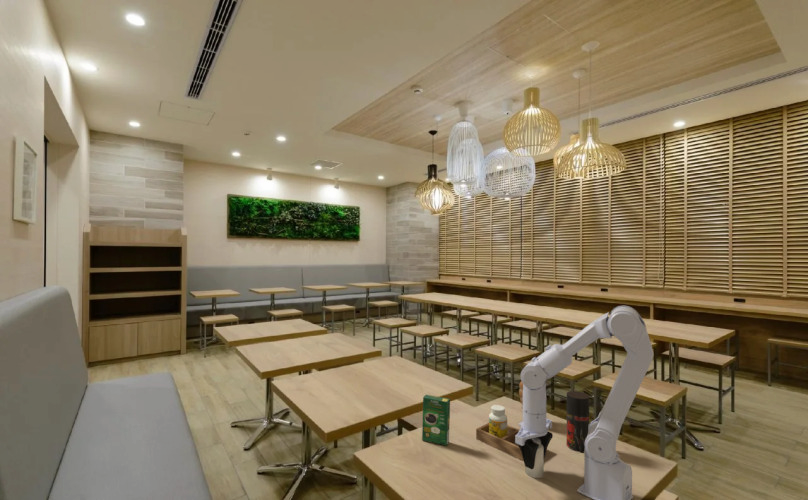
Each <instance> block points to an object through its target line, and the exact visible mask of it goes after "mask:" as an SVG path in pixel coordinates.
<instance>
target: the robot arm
mask: <svg viewBox="0 0 808 500" xmlns="http://www.w3.org/2000/svg"><path fill="white" fill-rule="evenodd" d="M613 336H614V337H615V338H616V339H618V340H619V342H621V344H622V346H623V348H624V350H625V351H626V356H625V358H624V359H623V363H622V365H621V367H620V369H619V371H618V374H617V375H616V378H615V380H614V382H613V384H612V387H611V390H610V391H609V393H608V396H607V398H606V400H605V402H604V404H603V407H602V409H601V410H600V412H599V414H598V416H597V417H596V418H595V419H594V420H592V421H591V422H589V428H588V435H587V438H586V440H585V449H584V452H583V453H584V454H583V455H584V456H583V457H584V458H583V459H584V464H583V465H584V466H583V467H584V468H583V470H584V477H583V478H584V483H582V484H581V485H580V486H579V487H578V488H577V490H576V491H577V492H578V493H579V494H582V495H583V496H585V497H588V498H590V499H592V500H631V499H632V500H633V498H634V495H633V469H632V466H631V465H630V464H629V463H626V462H624V461H623V460H621V458H620V455H619V453H618V451H617V441H618V439H619V435H620V432H621V429H622V426H623V423H624V422H625V419H626V417H627V415H628V413H629V410H630V408H631V407H632V405H633V402H634V400H635V398H636V395H637V393H638V391H639V389H640V386H641V385H642V383H643V380H644V379H645V376H646V374H647V372H648V370H649V368H650V366H651V363H652V361H653V359H654V349H653V346H652V342H651V340H650V336H649V333H648V330H647V326H646V323H645V321H644V319H643V318H642V316H641V315H640V313H639V312H638V311H637V310H636V309H635V308H633V307H631V306H628V305H618V306H616V307H614V308H613V309H612V310H611V312H610V311H608V312H606V313H604V314H603V315H601V316H599V317H598V318H596V319H595V320H593V321H592V322H590V323H589V324H588V325H586V326H585V327H584V328H582V329H581V330H580V331H579V332H577V334H575V335H574V336H572V337H571V338H570V339H569V340H568V341H566V342H565V343H563V344H558V343H554V344H553V345H551V344H549V345H547V346H546V347H545V351H544V352H542V353H541V354H540V355H538V356H537V357H536V356H534V357H533V358H531V361H530V362H528V363H526V365H525V366H524V368H523V369H522V370H521V371H520V380H521V381H522V383H523V410H522V421H520V422H519V423H518V426H519V427H520V429H519V432H518V434H517V435H515V443H514V444H516V445H517V446H519V448H520V450H521V453H522V456H523V460H524V461H523V463H524V466H526V467H528V468H530V469H533V468H534V465H535V456H536V452H537V449H538V447H539V444H537V443H535V442H533V440H532V438H539V439H540V440H541V444H542V445H543V447H544V459H545V457H546V453H547V450H548V447H549V444H550V442H551V440H552V439H553V433H552V432H550V431H549V429H553V421H552V419H549V418H547V392H546V391H547V389H546V388H547V382H546V381H548V379H551V378H553V377H555V376H556V375H557V374H559V373H560V372H562V371H563V370H565V369H566V368H567V367H569V366H570V365H572V363H573V356H574V355H575V354H578V352H580V351H581V350H583V349H585V348H586V347H588V346H589V345H590V344H592V343H594V342H595V341H597V340H598V339H612V337H613ZM521 381H520V382H521Z"/></svg>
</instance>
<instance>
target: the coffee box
mask: <svg viewBox="0 0 808 500" xmlns="http://www.w3.org/2000/svg"><path fill="white" fill-rule="evenodd" d="M450 416H451V398H447V397H441V396H437V395H436V396H435V395H431V394H425V395H424V396H423V398H422V430H421V431H422V432H421V433H422V434H421V440H422V441H425V442H428V443H429V442H430V443H434V444H438V445H441V446H448V444H449V443H450V442H449V441H450V418H451V417H450Z"/></svg>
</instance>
